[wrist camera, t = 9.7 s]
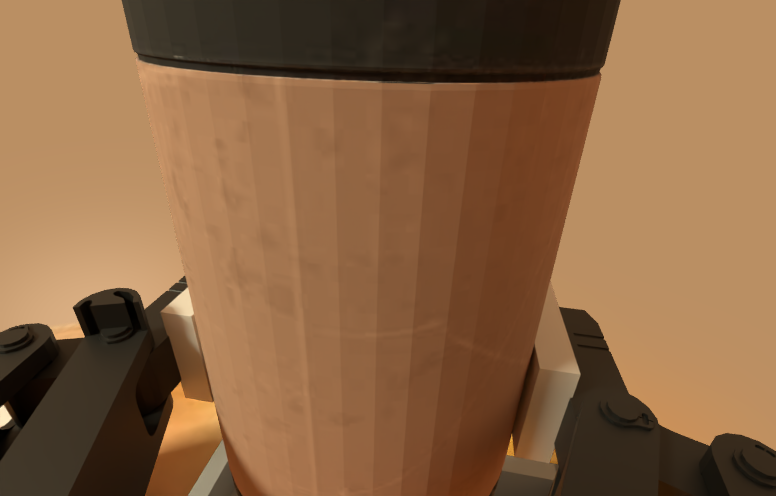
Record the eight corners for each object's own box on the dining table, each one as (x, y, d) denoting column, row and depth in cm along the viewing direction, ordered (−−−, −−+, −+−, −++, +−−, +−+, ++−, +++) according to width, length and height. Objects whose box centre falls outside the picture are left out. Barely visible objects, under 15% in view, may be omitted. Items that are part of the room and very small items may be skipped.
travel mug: (352, 437, 20) (344, -56, 11) (498, 534, 16) (682, -89, 7) (219, 588, 15) (-43, -163, 5) (394, 788, 11) (620, -620, 1)
